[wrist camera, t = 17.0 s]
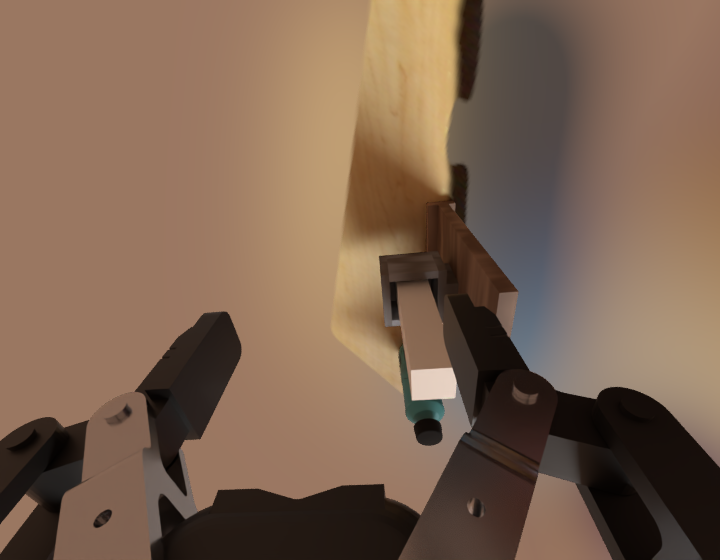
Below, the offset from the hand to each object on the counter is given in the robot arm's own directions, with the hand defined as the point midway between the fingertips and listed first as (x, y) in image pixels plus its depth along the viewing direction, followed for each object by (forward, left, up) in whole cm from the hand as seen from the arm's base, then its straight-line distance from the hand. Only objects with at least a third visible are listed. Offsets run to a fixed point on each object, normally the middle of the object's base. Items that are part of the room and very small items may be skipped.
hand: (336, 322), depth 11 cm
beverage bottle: (+34, -16, -38) cm, 54 cm away
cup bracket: (+17, -3, -38) cm, 42 cm away
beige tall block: (+16, -5, -28) cm, 33 cm away
